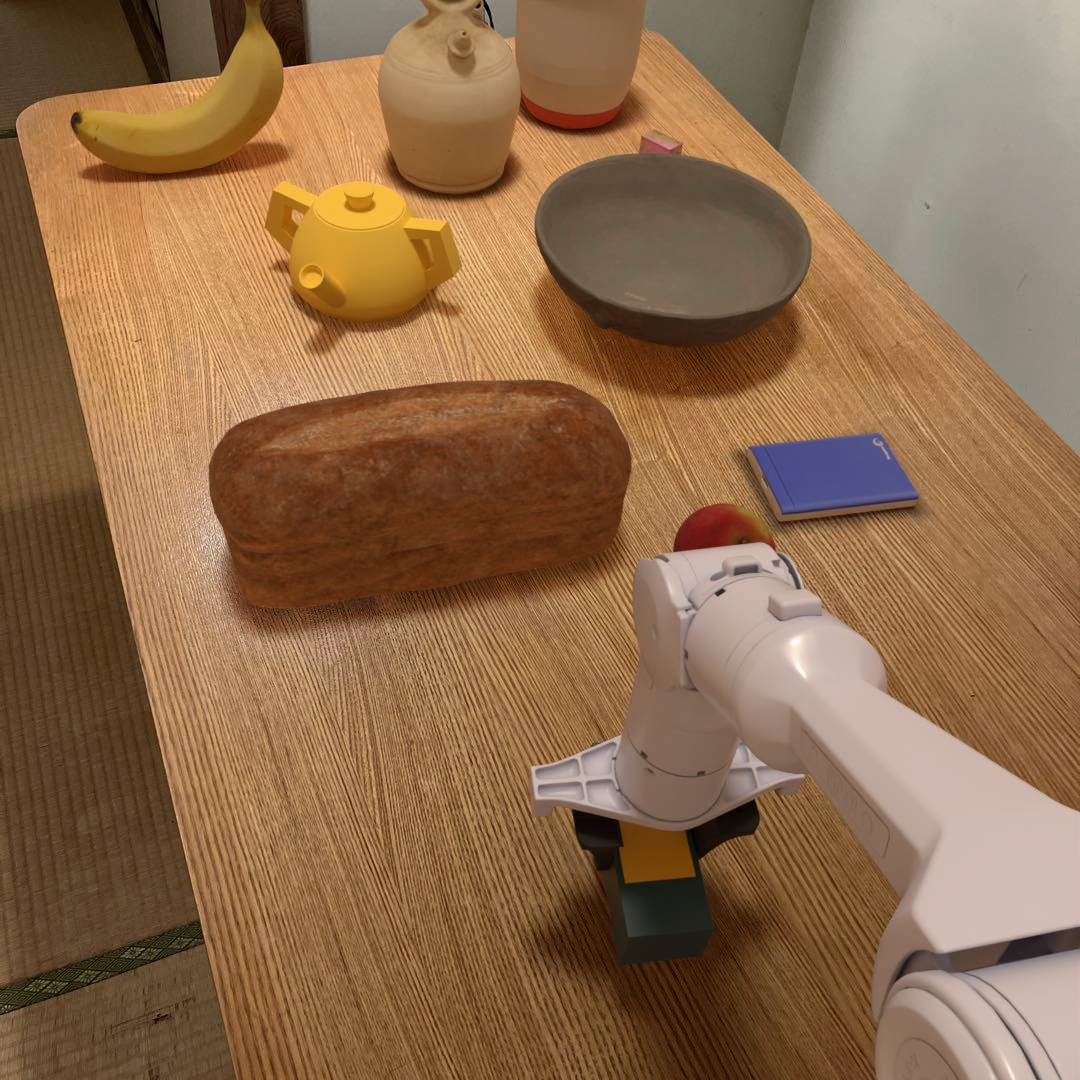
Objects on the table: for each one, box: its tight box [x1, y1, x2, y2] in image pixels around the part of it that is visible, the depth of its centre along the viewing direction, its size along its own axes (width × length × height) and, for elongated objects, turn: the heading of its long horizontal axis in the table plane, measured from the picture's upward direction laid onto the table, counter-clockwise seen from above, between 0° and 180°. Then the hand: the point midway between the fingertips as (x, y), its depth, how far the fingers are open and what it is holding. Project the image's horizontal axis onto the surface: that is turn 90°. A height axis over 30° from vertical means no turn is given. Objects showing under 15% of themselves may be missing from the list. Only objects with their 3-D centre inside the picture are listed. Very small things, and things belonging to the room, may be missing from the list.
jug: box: [377, 0, 522, 196], centre depth 115 cm, size 15×16×25 cm
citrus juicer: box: [514, 0, 647, 130], centre depth 129 cm, size 16×17×20 cm
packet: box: [590, 741, 716, 966], centre depth 63 cm, size 12×5×4 cm, turn 7°
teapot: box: [264, 180, 463, 324], centre depth 102 cm, size 20×18×11 cm
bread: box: [208, 379, 633, 609], centre depth 81 cm, size 12×31×14 cm, turn 106°
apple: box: [672, 502, 777, 552], centre depth 81 cm, size 8×8×8 cm
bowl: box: [534, 152, 813, 348], centre depth 105 cm, size 26×26×10 cm
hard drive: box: [746, 432, 919, 523], centre depth 93 cm, size 2×8×12 cm
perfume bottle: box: [638, 129, 684, 155], centre depth 123 cm, size 12×12×4 cm
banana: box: [69, 0, 285, 174], centre depth 113 cm, size 23×6×20 cm, turn 109°
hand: (644, 850), depth 63 cm, fingers closed on packet, 5 cm apart
